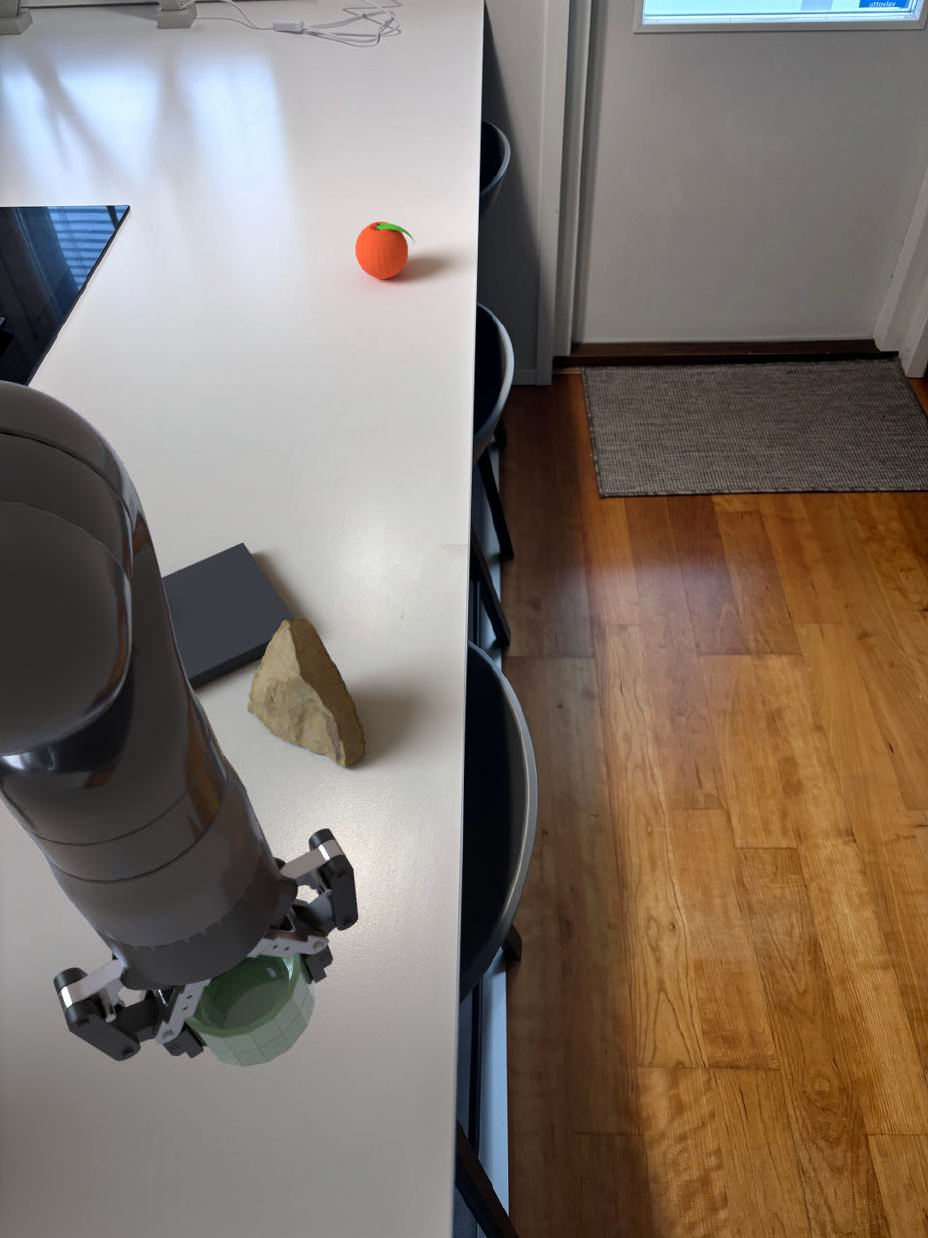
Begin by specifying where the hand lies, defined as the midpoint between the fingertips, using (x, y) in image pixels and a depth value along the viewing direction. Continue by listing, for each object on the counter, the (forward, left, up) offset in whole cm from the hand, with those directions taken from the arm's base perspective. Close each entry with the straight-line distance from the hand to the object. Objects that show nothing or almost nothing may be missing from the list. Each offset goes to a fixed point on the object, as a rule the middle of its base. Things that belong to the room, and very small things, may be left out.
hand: (254, 1001), depth 51 cm
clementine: (+53, +85, -13) cm, 101 cm away
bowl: (0, 0, -1) cm, 1 cm away
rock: (+12, +24, -13) cm, 30 cm away
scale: (+8, +40, -13) cm, 43 cm away
